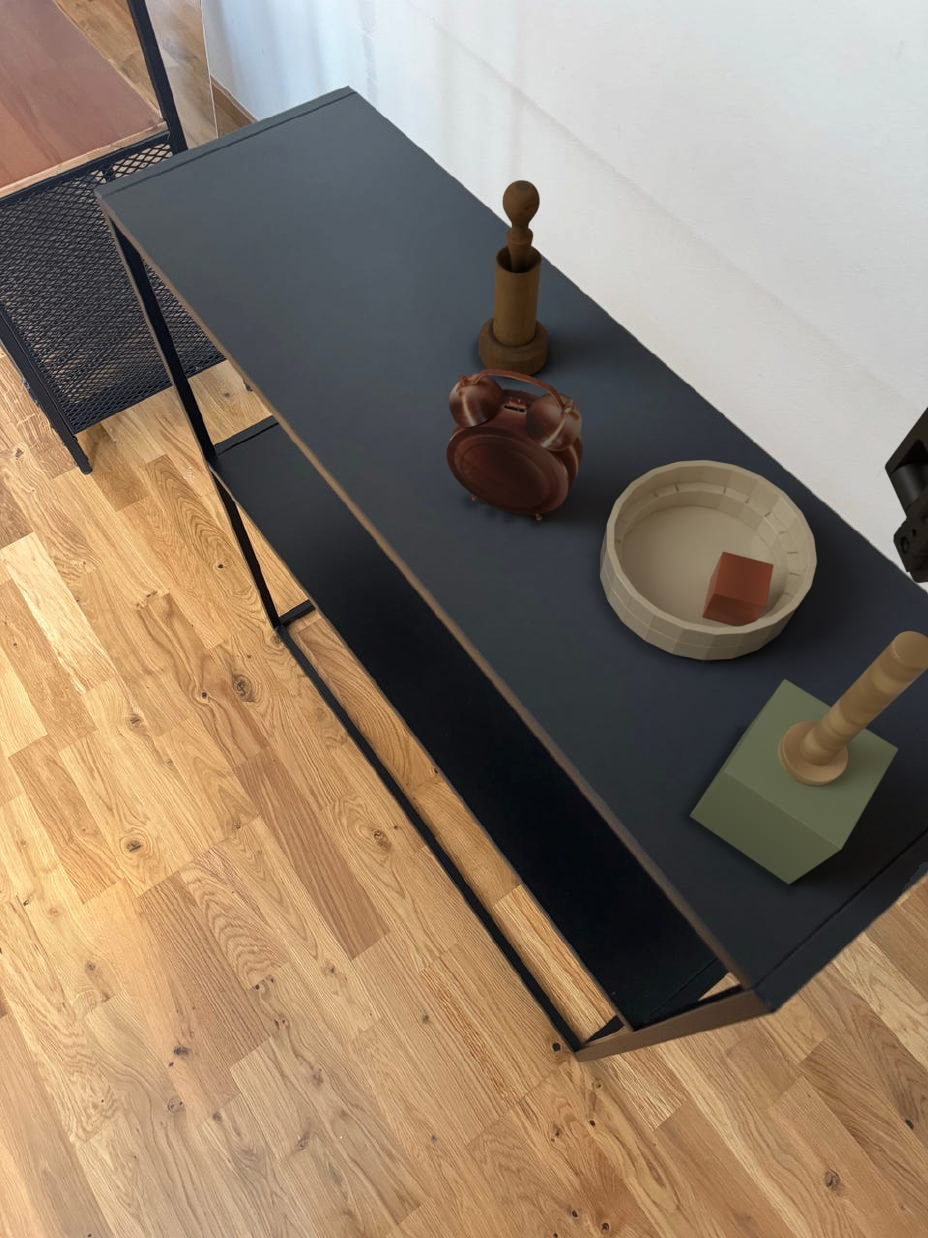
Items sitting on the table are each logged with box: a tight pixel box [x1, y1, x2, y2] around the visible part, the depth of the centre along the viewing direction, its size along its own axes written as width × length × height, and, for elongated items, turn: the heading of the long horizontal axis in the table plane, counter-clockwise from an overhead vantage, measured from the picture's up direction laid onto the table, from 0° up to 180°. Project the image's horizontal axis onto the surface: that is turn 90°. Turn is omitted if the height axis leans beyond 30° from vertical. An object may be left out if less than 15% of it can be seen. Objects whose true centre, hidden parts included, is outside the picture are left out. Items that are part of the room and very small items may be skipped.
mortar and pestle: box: [478, 179, 549, 376], centre depth 78 cm, size 7×6×18 cm
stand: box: [689, 678, 899, 885], centre depth 60 cm, size 8×8×10 cm
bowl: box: [599, 459, 818, 661], centre depth 71 cm, size 16×16×5 cm
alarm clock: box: [446, 368, 584, 521], centre depth 71 cm, size 11×5×15 cm, turn 69°
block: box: [702, 552, 774, 627], centre depth 70 cm, size 4×4×4 cm
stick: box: [778, 630, 928, 786], centre depth 49 cm, size 4×4×15 cm
